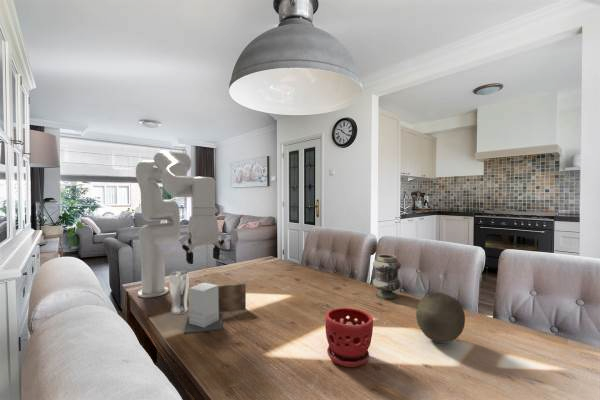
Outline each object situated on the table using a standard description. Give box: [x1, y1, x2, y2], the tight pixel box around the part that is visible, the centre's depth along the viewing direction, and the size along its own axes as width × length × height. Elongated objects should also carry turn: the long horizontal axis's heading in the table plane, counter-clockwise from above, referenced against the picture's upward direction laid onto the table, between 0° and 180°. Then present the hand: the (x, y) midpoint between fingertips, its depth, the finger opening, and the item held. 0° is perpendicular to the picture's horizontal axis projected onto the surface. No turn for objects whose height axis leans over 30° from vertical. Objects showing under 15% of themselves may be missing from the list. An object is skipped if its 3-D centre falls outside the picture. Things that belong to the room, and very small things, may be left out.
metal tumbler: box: [168, 270, 190, 316], centre depth 113 cm, size 7×7×15 cm
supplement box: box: [188, 282, 220, 328], centre depth 103 cm, size 7×7×13 cm
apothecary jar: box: [372, 254, 402, 301], centre depth 131 cm, size 12×12×18 cm
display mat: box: [183, 312, 223, 335], centre depth 103 cm, size 12×12×1 cm
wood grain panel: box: [217, 282, 247, 313], centre depth 113 cm, size 18×1×10 cm, turn 105°
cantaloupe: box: [415, 292, 466, 344], centre depth 90 cm, size 14×14×15 cm
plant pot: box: [324, 307, 374, 368], centre depth 82 cm, size 13×13×12 cm
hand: (203, 261), depth 102 cm, fingers open, 9 cm apart
